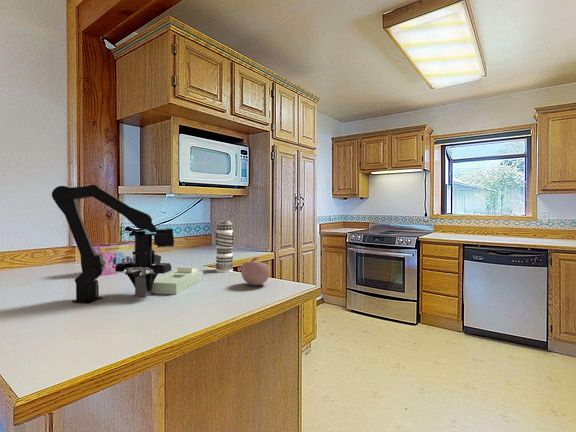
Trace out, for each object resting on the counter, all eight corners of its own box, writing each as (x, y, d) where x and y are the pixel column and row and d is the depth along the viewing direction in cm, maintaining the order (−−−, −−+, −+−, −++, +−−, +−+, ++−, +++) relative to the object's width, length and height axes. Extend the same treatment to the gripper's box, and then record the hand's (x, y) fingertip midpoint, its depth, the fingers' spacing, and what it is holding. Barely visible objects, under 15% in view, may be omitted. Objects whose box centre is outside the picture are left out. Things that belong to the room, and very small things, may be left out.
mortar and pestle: (272, 282, 139) (272, 255, 139) (267, 289, 127) (268, 260, 127) (244, 281, 140) (244, 255, 140) (237, 288, 128) (237, 259, 128)
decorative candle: (215, 269, 167) (215, 220, 167) (233, 268, 169) (233, 220, 168) (214, 272, 158) (214, 221, 158) (233, 272, 160) (234, 221, 159)
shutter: (191, 272, 137) (191, 267, 137) (177, 272, 138) (177, 267, 138) (198, 270, 144) (198, 264, 144) (184, 269, 145) (184, 264, 144)
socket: (176, 294, 118) (176, 283, 118) (145, 293, 120) (145, 282, 120) (202, 279, 142) (203, 270, 142) (177, 278, 144) (177, 269, 144)
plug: (145, 297, 115) (145, 271, 115) (135, 296, 115) (135, 271, 115) (151, 294, 119) (151, 269, 119) (141, 293, 119) (141, 269, 119)
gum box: (136, 267, 169) (136, 241, 169) (143, 269, 164) (143, 243, 164) (85, 274, 151) (84, 245, 151) (91, 277, 146) (91, 247, 146)
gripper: (178, 246, 123) (178, 286, 124) (133, 244, 126) (133, 284, 126) (163, 249, 112) (163, 294, 113) (114, 248, 115) (114, 292, 115)
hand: (143, 291), depth 117 cm, fingers closed on plug, 4 cm apart
